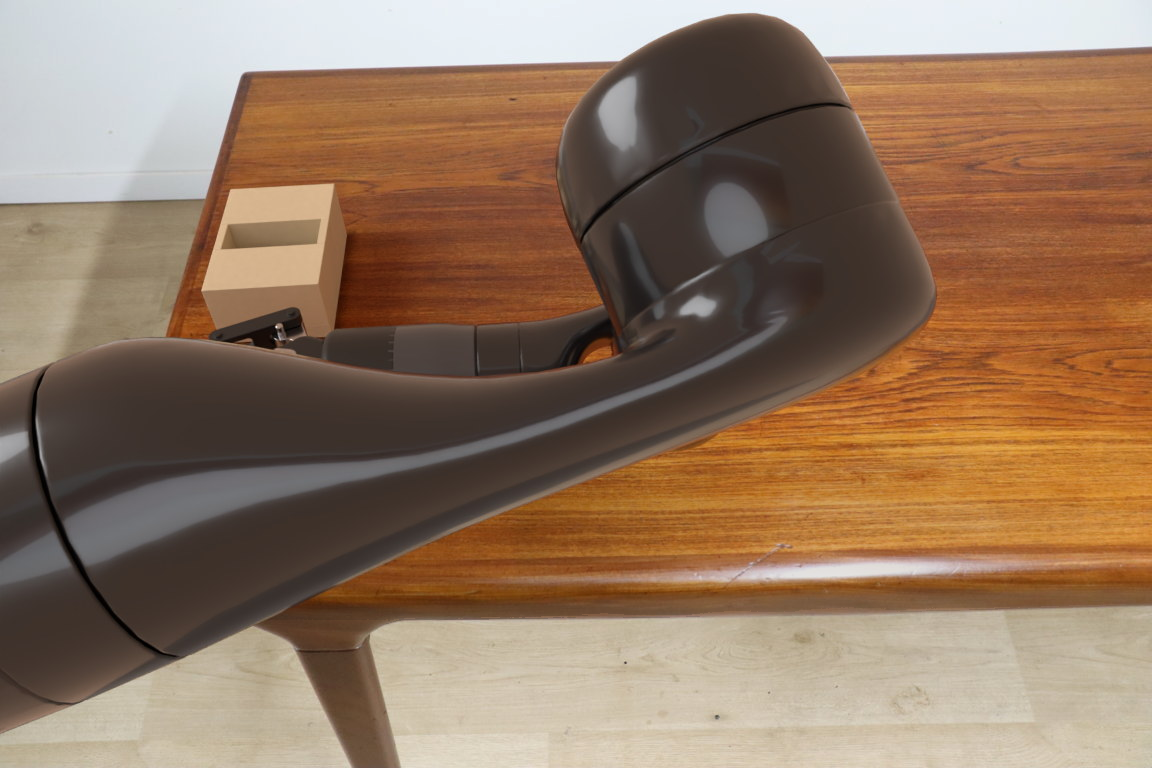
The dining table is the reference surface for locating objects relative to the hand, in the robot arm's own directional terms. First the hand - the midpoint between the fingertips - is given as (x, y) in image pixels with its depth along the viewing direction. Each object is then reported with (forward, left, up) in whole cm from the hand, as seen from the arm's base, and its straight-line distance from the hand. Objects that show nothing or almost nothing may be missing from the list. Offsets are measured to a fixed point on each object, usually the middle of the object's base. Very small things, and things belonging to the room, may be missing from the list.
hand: (130, 402), depth 59 cm
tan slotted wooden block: (+17, +20, -13) cm, 29 cm away
